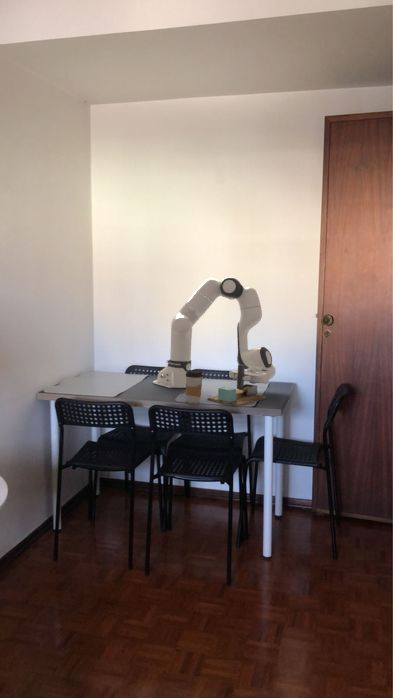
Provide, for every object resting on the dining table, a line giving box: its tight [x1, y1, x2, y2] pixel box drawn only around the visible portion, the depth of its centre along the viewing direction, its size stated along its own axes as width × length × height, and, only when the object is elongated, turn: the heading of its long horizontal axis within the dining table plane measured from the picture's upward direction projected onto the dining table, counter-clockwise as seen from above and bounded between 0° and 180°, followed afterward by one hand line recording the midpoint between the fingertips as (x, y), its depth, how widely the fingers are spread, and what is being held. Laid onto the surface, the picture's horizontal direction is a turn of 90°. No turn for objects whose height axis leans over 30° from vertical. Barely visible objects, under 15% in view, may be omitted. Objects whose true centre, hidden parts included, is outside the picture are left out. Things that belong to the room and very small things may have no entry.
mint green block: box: [217, 386, 237, 402], centre depth 284 cm, size 7×5×6 cm
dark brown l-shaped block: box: [235, 364, 248, 396], centre depth 293 cm, size 3×14×15 cm, turn 142°
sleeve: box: [240, 383, 258, 397], centre depth 298 cm, size 6×9×4 cm
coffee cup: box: [185, 369, 204, 404], centre depth 281 cm, size 8×8×15 cm
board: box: [207, 394, 267, 407], centre depth 292 cm, size 18×26×1 cm
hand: (239, 378), depth 291 cm, fingers closed on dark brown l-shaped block, 2 cm apart
